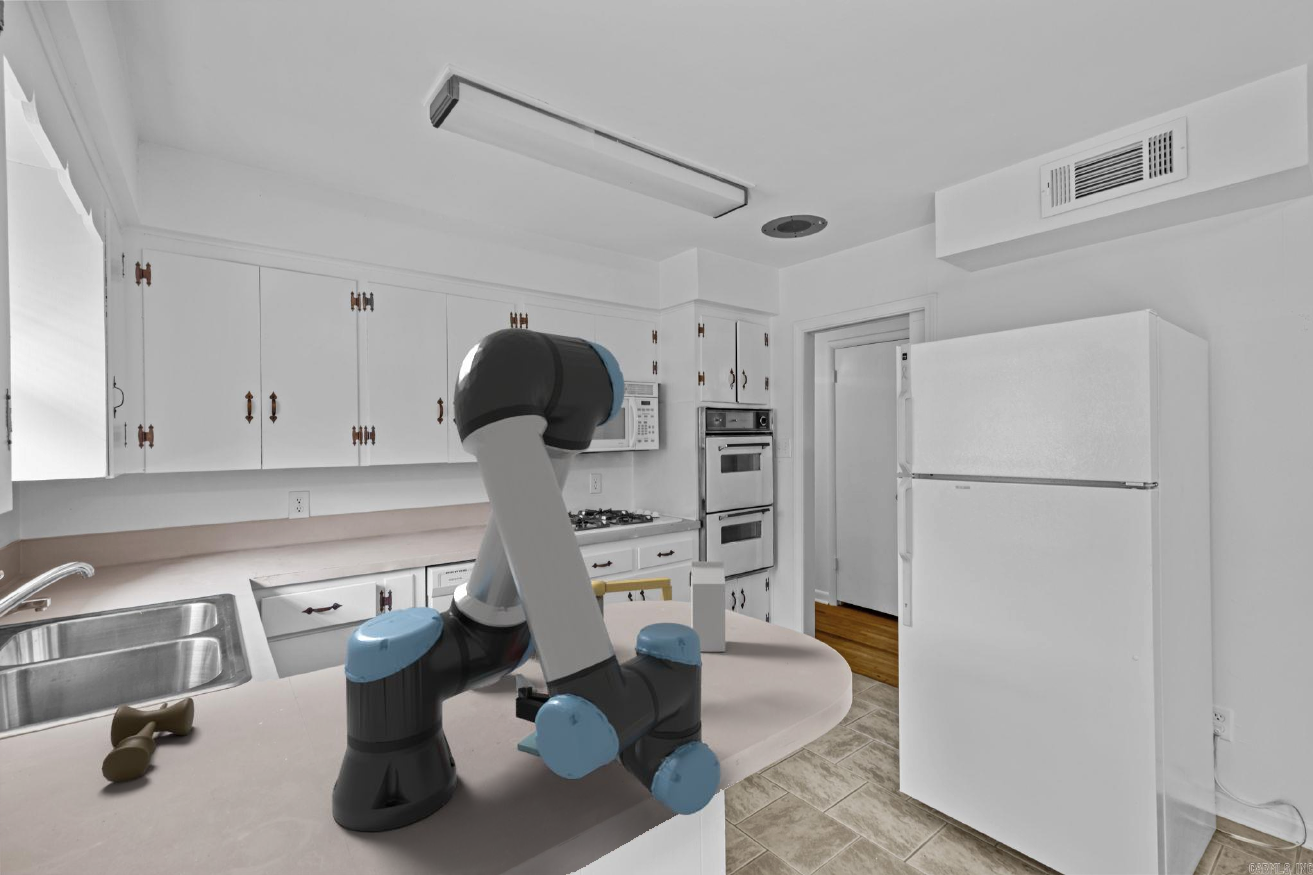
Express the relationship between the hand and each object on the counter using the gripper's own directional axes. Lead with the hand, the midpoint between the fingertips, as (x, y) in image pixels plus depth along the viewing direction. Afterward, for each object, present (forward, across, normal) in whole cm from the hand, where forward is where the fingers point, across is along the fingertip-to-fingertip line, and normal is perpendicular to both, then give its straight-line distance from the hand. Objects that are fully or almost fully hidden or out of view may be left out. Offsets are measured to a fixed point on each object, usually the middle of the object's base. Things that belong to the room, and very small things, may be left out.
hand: (559, 672), depth 96 cm
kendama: (+30, -54, -10) cm, 63 cm away
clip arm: (+8, +18, +7) cm, 21 cm away
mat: (-3, 0, -10) cm, 10 cm away
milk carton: (+16, +43, -10) cm, 47 cm away
